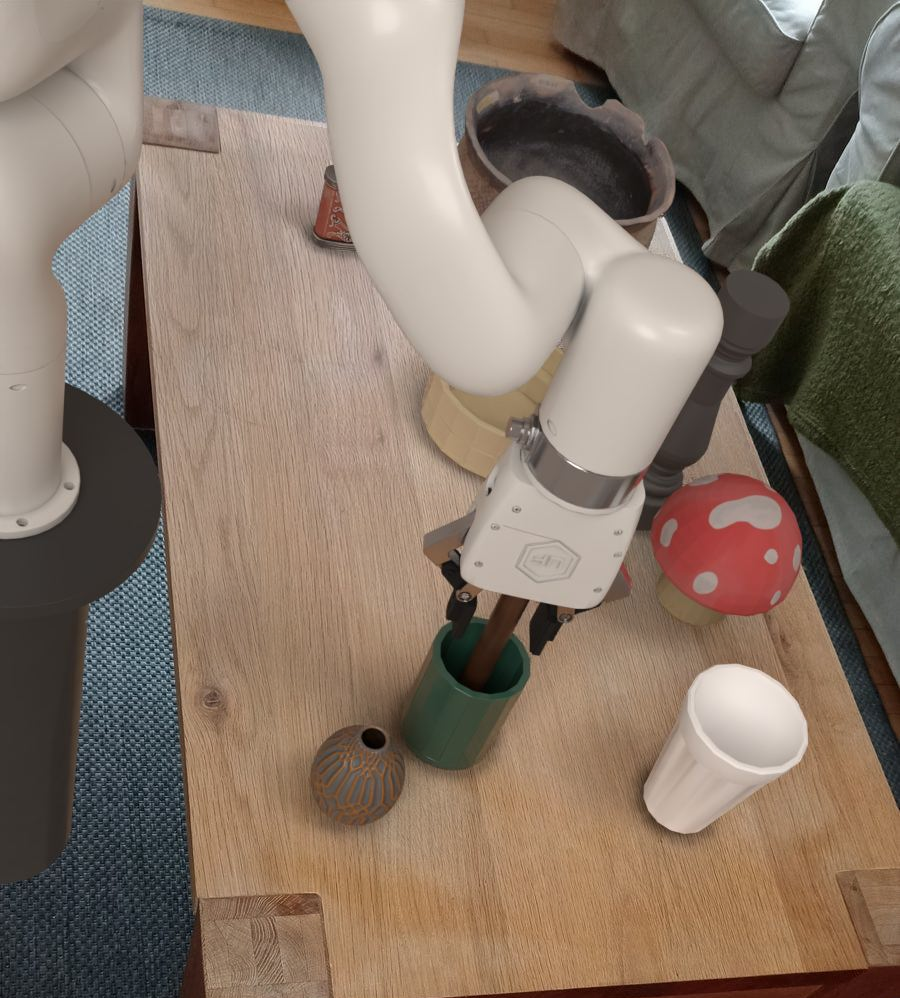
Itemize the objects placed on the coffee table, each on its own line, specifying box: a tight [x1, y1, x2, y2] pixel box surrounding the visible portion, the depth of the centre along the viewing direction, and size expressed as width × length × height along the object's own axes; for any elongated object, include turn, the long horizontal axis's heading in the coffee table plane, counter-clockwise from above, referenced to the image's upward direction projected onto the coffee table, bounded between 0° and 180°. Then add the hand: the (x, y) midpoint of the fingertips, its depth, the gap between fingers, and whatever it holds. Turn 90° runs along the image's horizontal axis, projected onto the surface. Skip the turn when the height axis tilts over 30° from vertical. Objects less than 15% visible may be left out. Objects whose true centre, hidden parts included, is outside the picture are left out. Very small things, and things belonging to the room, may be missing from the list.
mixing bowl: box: [420, 345, 564, 479], centre depth 123 cm, size 15×15×6 cm
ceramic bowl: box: [457, 72, 676, 250], centre depth 133 cm, size 22×22×15 cm
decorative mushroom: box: [649, 472, 803, 627], centre depth 114 cm, size 13×13×15 cm
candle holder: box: [635, 268, 791, 532], centre depth 115 cm, size 6×6×25 cm
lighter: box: [310, 164, 357, 253], centre depth 129 cm, size 8×3×10 cm, turn 108°
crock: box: [399, 615, 532, 771], centre depth 101 cm, size 8×8×10 cm
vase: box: [309, 723, 406, 827], centre depth 96 cm, size 7×7×9 cm
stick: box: [458, 593, 531, 692], centre depth 97 cm, size 2×2×18 cm
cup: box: [642, 663, 809, 835], centre depth 103 cm, size 10×10×13 cm
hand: (496, 630), depth 95 cm, fingers open, 5 cm apart
